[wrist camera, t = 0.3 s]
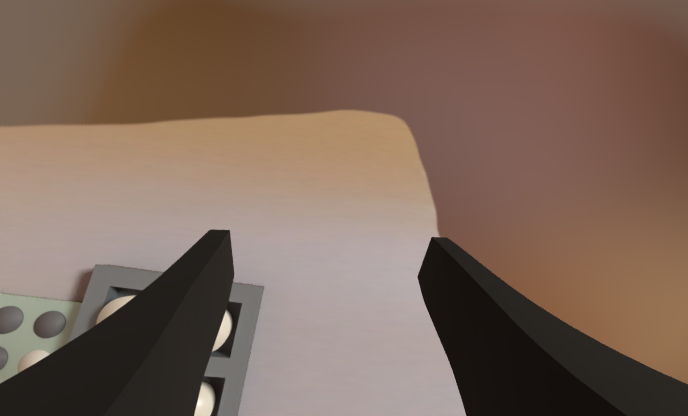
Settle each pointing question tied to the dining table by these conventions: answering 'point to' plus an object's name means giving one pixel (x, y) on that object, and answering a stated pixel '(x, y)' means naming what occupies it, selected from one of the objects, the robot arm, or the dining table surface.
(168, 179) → the dining table surface
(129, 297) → the button
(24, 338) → the tile
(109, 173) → the dining table surface
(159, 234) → the dining table surface
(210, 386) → the button
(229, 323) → the button
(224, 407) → the button board
